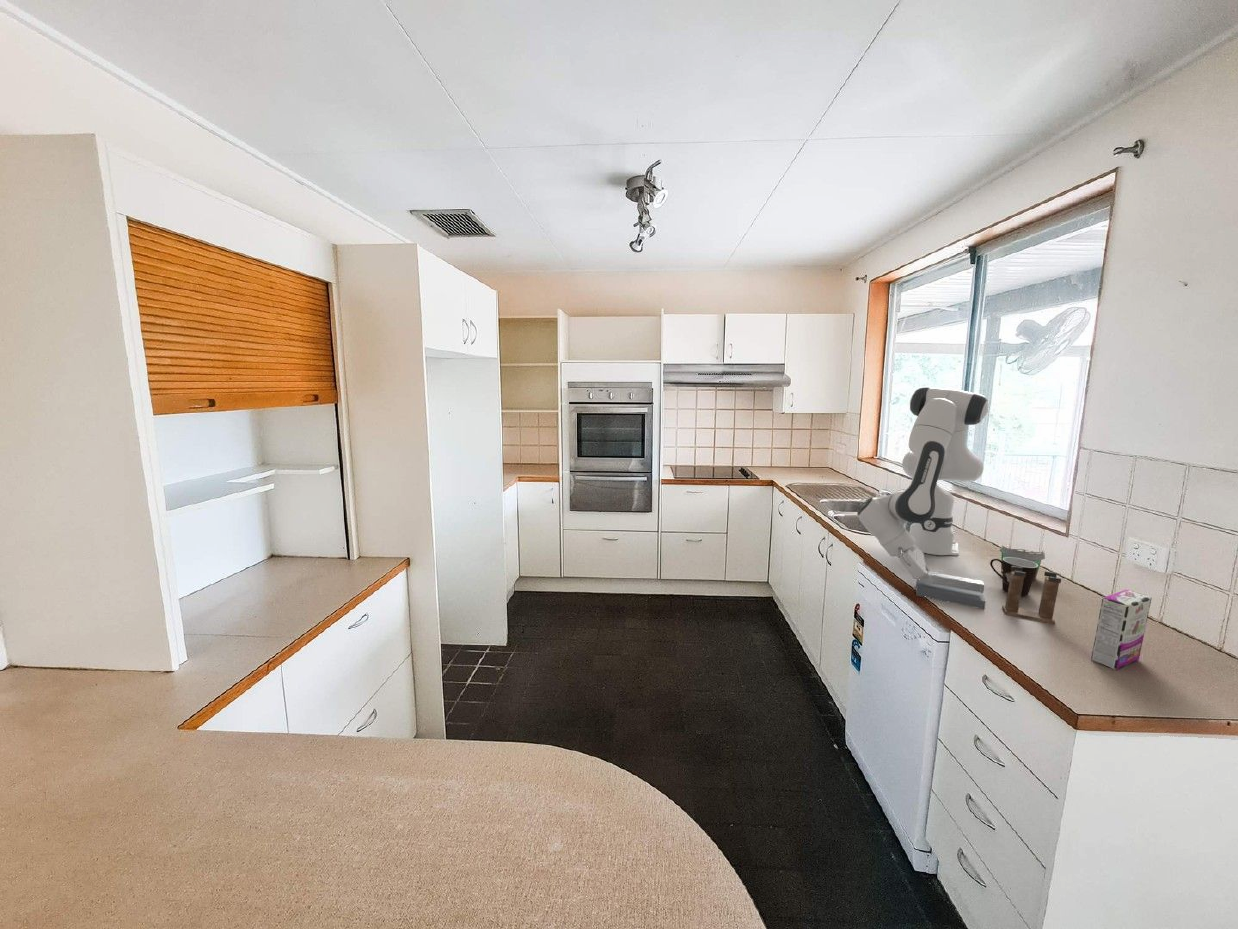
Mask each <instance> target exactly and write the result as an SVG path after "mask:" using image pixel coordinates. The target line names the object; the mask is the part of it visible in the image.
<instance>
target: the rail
mask: <svg viewBox="0 0 1238 929" xmlns="http://www.w3.org/2000/svg"><path fill="white" fill-rule="evenodd" d="M927 573H928V574H929V575H931V576H932V578H933V579H934V582H933V584H938V585H943V586H949V587H954V588H959V589H964V590H970V591H975V592H980V593H982V594H984V590H985V583H984V581H983V580H979V579H972V578H968V577H961V576H956V575H950V574H944V573H941V572H934V571H931V572H929V571H927ZM919 580H920V581H922V582H927V581H926V580H925V579H923V578H920V579H919ZM927 583H928V582H927Z"/></svg>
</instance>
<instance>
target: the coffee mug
mask: <svg viewBox="0 0 1238 929" xmlns="http://www.w3.org/2000/svg"><path fill="white" fill-rule="evenodd" d="M995 561H996V562H999V563H1000V565H1001V564H1002V565H1003V574H1000V572H999V571H997V570H996V569H995V566H994V565H993V563H994V562H995ZM989 565H990V567H991V569H992V571H993V572H995V574H996V575H997V576H998V577H999V578H1000V579H1001V580H1002V585H1001V586H1002V587H1001V588H1002V590H1001V591H1003V592H1005V593H1007V594H1008V588H1009V582H1010V577H1011V571H1013V570H1011V566H1016V567H1022V568H1023V569H1022V572H1025V573H1026V576H1025V577H1024V581H1023V587H1022V592H1021V598H1023V597H1028V596H1029V594H1030V590H1031V587H1032V585H1033V583H1034V581H1035V580H1034V577H1035V574H1036V571H1037V568H1038V565H1037V564H1036V563H1034V562H1032V561H1029V560H1025V559H1021V558H1014V557H1005V558H1003V561H1001V559H999V558H993V559H991V560H990V562H989ZM1033 580H1034V581H1033Z"/></svg>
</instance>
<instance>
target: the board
mask: <svg viewBox="0 0 1238 929" xmlns="http://www.w3.org/2000/svg"><path fill="white" fill-rule="evenodd" d="M915 581H916V583H915V592H916V596H918V597H923V596H926V597H925V598H927V597H930V598H929V599H932V598H934V599H933V600H937V601H943V602H947V601H949V602H948V603H953V604H958V605H962V606H967V607H972V608H977V609H983V610H985V607H986V600H985V597H984V595H983V594H984V593H980V592H975V591H970V590H964V589H959V588H954V587H949V586H943V585H938V584H933V583H931V584H929V583H927V582H922V581H920V579H918V580H915ZM923 598H924V597H923Z"/></svg>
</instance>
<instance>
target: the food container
mask: <svg viewBox="0 0 1238 929" xmlns="http://www.w3.org/2000/svg"><path fill="white" fill-rule="evenodd" d="M999 552H1001V559H1000V560H1001V561H1003V558H1005V557H1014V558H1021V559H1025V560H1029V561H1032V562H1034V563H1036V564H1037V565H1038V568H1037V571H1036V574H1035V577H1034V580H1033V582H1034V581H1036V579H1037V575H1038V573H1039V569H1040V566H1041V563H1042V560H1045V559H1046V555H1045V551H1044V550H1042V551H1032V550H1027V549H1022V548H1009V547H1006V546H1004V545H1003V544H1002V545H1001V547H1000V549H999ZM1000 573H1001V574H1000V575H1003V565H1002V564H1001V563H1000Z"/></svg>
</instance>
